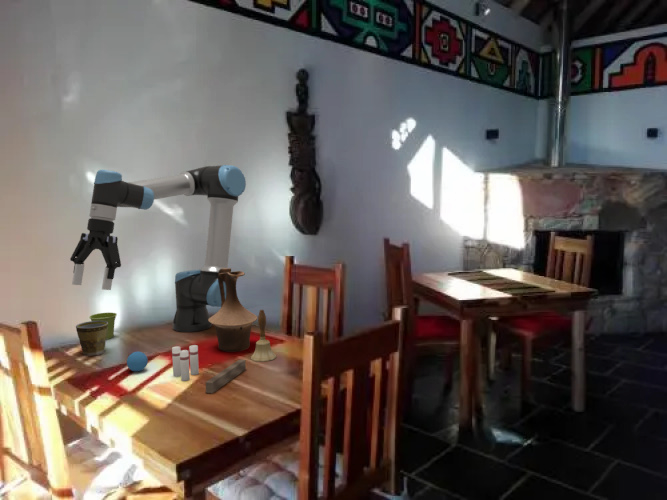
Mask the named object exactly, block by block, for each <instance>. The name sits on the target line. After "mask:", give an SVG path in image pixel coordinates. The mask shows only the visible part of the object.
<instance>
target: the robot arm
mask: <svg viewBox="0 0 667 500" xmlns="http://www.w3.org/2000/svg"><path fill="white" fill-rule="evenodd" d="M246 182H247V181H246V177H245V175H244V173H243V172H242V170H241V169H240V168H239V167H238V166H235V165H229V164H223V165H212V166H211V165H208V166H202V167H198V168H195V169H191V170H186V171H181V172H180V174H175V175H170V176H169V175H168V176H163V177H157V178H156V177H155V178H150V179H149V178H148V179H143V180H137V181H136V180H135V181H129V182H127V181H124V180H123V175H122V174H121V172H118V171H114V170H109V169H99V170H98V171H97V172H96V175H95V178H94V182H93V184H94V185H93V190H92V197H91V204H90V210H89V216H88V217H90V218H88V222H87V228H86V229H87V231H89V233H84V232H82V233H81V235H80V238H79V241H78V243H77V245H76V247H75V249H74V251H73V252H72V254H71V257H70V262H73V264H74V266H73V271H72V272H73V277H72V284H71V285H73V286H74V285H75V286H82V282H83V276H84V269H85V261H86V260H87V258H88V257H89V256H90V255H91V254H92V252H93V251H95V250H99V251H100V252H101V255H102V257H103V259H104V263H105V265H106V266H105V268H104V271H103V272H104V273H103V277H102V278H103V279H102V285H101V290H105V291H112V285H113V280H114V278H115V271H116V269H118V268H121V267H122V263H121V258H120V251H119V247H118V246H119V245H118V236H115V235H114V236H113V235H111V234H114V228H115V222H114V221H116V218H117V210H118V208H133V209H138V210H149V209H151V208H152V206H153V204H154V202H155V200H158V199H165V198H171V197H177V196H182V195H184V196H186V197H190V196H191V197H192V196H206V197H207V201H208V202H209V203H210V210H209V218H208V219H209V220H208V228H207V229H208V230H207V237H206V238H207V240H206V250H205V258H204V259H205V260H204V266H203V267H201V269H200V268H199V269H192V270H191V269H190V270H183V271H179V272H176V273H175V276H174V277H175V279H174V284H175V285H174V286H175V290H174V291H175V303H176V308H175V309H176V310H175V314H174V318H173V321H172V329H173V330H174V331H176V332H183V333H191V332H192V333H193V332H199V331H205V330H207V329H210V328H211V327H212V326H213V324H212V323H210V322H209V321H208V319H209V318H210V317H211V315H210V313H209V309H208V308H207V307H208V306H211V307H217V308H221V303H222V302H221V294H220V288H219V283H218V272H219V270H220V269H222V268H228V267H229V257H230V256H229V255H230V248H231V247H230V246H231V237H232V226H233V225H232V224H233V213H234V206H235V205H236V204H238V202H239V196H241V195H242V194H243V193H244V192H245V190H246V185H247V183H246ZM223 285H224V293H225V299H226V285H225V282H224V281H223Z"/></svg>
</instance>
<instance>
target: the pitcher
mask: <svg viewBox="0 0 667 500" xmlns="http://www.w3.org/2000/svg"><path fill="white" fill-rule="evenodd" d="M243 276H245V272H244V271H240V270H237V271H232V267H231V268H230V267H229V268H222V269H220V270H219V272H218V283H219V288H220V294H221V302H222V303H221V307H220V309H218V311H217V312H215V314H213V315H212V316H210V318H209V319H208V321H209V322H210V323H212V325H213V326H214V328H215V332H216V336H217V342H218V346H217V347H218V349H219V350H220V351H222V352H228V353H229V352H230V353H233V352H234V353H235V352H242V351H245V350H247V349H249V347H250V344H251V343H250V341H251V339H250V338H251V332H252V325H253V323H254V322H256V321H257V320H258V316H257V315H256V314H254V313H253V312H251V311H250V310H248V309H247V308H245V306H243V304H242V303H241V301H240V300H239V296H238V292H237V281H238V279H239V277H243ZM223 281H224V282H225V285H226V299H225V293H224V285H223Z"/></svg>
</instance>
